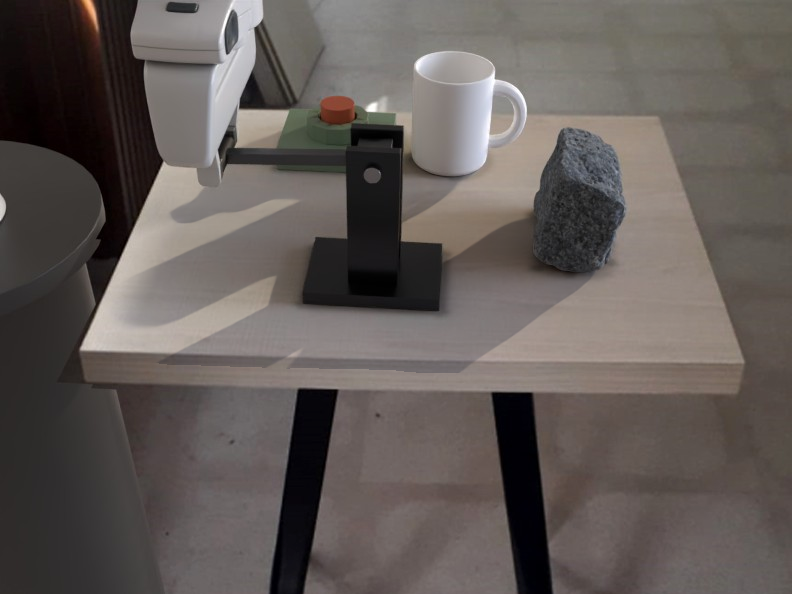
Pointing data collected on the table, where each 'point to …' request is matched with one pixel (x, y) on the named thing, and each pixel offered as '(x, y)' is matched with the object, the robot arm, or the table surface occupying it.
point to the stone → (578, 203)
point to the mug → (458, 112)
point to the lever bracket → (374, 237)
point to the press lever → (289, 154)
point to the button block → (323, 133)
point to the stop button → (337, 110)
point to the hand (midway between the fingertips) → (219, 163)
